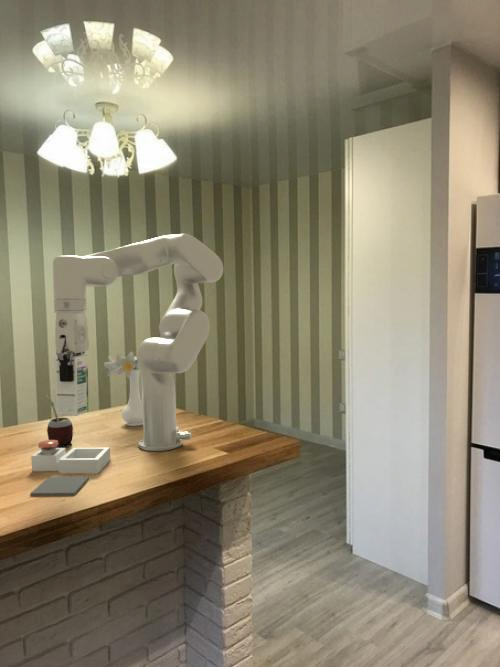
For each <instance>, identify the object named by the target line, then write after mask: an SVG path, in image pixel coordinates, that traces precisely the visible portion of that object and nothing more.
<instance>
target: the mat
mask: <svg viewBox="0 0 500 667" xmlns="http://www.w3.org/2000/svg"><path fill="white" fill-rule="evenodd" d="M89 480H90V476H48V477H47V478H46V479H45V480H43V481H42V482H41V483H40V484H39V485H38V486H37V487H36V488H34V489H33V490H32V491H31V492H30V493H29V494H30V496H31V497H38V496H39V497H44V496H43V495H51V496H52V497H53V496H54V497H55V495H57V497H58V496H59V497H60V496H62V497H63V496H75V495H76V494H78V492H79V491H80V490H81V489H82V488H83V487H84V486H85V485H86V484H87V482H88V481H89ZM35 495H37V496H35ZM51 496H50V497H51Z"/></svg>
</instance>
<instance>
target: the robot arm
mask: <svg viewBox="0 0 500 667" xmlns="http://www.w3.org/2000/svg"><path fill="white" fill-rule="evenodd" d="M172 265H174V267H173V274H174V278H175V282H176V294H175V296H174V298H173V300H172V301H171V303H170V305H169V306H168V309H166V311H165V313H164V315H163V317H162V318H161V320H160V322H159V325H158V331H159V333H160V335H161V336H162V337H149V338H146V339H144V340H143V341H142V342H141V343H140V344H139V346H138V347H137V351H136V354H137V360H138V363H137V364H138V365H139V369H140V372H139V374H140V380H141V401H142V407H143V425H142V428H143V432H142V433H143V438H142V439H140V440H139V441H138V447H139V449H141V450H144V451H148V452H163V451H164V452H165V451H169V450H175V449H176V448H179V447H180V446H182V444H183V440H186V441H191V440H192V432H189V431H181V430H179V426H177V413H176V412H177V411H176V410H177V409H176V384H175V379H174V376H173V374H181V373H185V372H187V371H188V370H189V369H190V368H191V367H192V366H193V364H194V362H195V361H196V359H197V357H198V356H199V353H201V352H200V351H201V350H202V348H203V346H204V345H205V342H206V341H207V339H208V338H209V334H210V330H211V322H210V319H209V316H208V315H207V314H206V313H205V312H204V311H202V310H201V308H202V306H203V296H202V292H201V289H200V286H199V284H210V283H211V284H213V283H216V282H217V281H219V280H220V279H221V278H222V276H223V275H224V264H223V261H222V259H221V258H220V257H219V255H217V253H215V252H214V251H212V249H210V248H209V247H208V246H206V245H205V244H204V243H203V242H202V241H201V240H199V239H198V238H196V237H195V236H192V235H191V234H188V233H179V234H167V235H161V236H158V237H154V238H151V239H147V240H143V241H140V242H135V243H131V244H128V245H127V244H126V245H123V246H120V247H117V248H113V249H109V250H105V251H101V252H96V253H92V254H88V255H84V256H79V255H57V256H55V257H54V258H53V260H52V279H53V280H52V282H53V283H52V284H53V285H52V288H53V311H54V314H55V330H54V333H55V335H54V341H55V342H54V344H55V354H56V357H58V360H59V372H60V381H61V382H72V381H73V380H74V377H73V365H71V364H72V357H73V354H82V355H85V353H86V351H88V350H89V347H90V346H89V344H90V343H89V342H90V341H89V330H88V328H89V327H88V320H87V314H86V313H87V288H88V287H106V286H110V285H112V284H113V283H114V282H116V280H117V278H120V277H132V276H138V275H144V274H147V273H149V272H152V271H155V270H158V269H162V268H165V267H168V266H172ZM67 356H68V358H67Z"/></svg>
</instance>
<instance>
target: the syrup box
mask: <svg viewBox="0 0 500 667" xmlns="http://www.w3.org/2000/svg"><path fill="white" fill-rule="evenodd" d="M88 357H89V356H88V355H87V354H84V355H82V354H76V353H75V354H73V357H72V364H71V365H73V377H74V380H73V381H72V382H61V381H60V372H59V360H58V356H55V358H54V360H55V361H54V363H55V364H54V365H55V367H54V369H55V370H54V371H55V375H54V376H55V410H56V414H57V416H58V415H59V416H71V417H72V416H73V417H77V416H78V415H79V416H80V415H81V414H84V413H87V412H89V409H90V408H89V368H88V367H89V366H88V365H89V364H88V363H89V362H88V360H89V359H88ZM67 358H68V356H67Z"/></svg>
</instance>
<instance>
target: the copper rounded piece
mask: <svg viewBox="0 0 500 667" xmlns="http://www.w3.org/2000/svg"><path fill="white" fill-rule="evenodd" d="M56 446H58V441H57V440H49V439H48V440H43V441H39V442H38V448H39V449H41V454H42V455H54V454H55V453H56V448H57V447H56Z"/></svg>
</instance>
